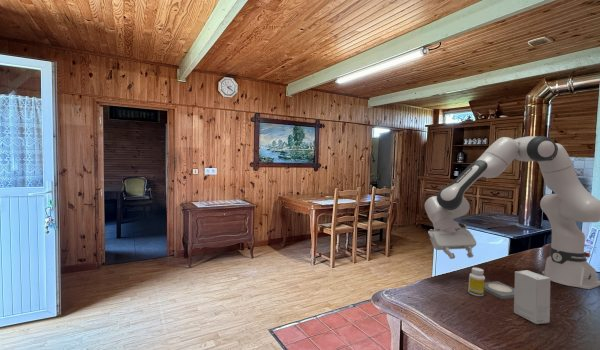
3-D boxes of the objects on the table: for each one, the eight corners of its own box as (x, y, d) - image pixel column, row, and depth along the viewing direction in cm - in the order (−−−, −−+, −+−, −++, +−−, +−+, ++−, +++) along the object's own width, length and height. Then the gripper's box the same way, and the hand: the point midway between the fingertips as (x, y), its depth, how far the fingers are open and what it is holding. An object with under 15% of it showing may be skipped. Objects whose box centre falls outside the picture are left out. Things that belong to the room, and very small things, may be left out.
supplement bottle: (486, 297, 116) (488, 272, 115) (470, 295, 117) (472, 270, 116) (480, 291, 121) (482, 267, 120) (466, 289, 122) (467, 266, 121)
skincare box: (549, 323, 98) (553, 278, 97) (535, 325, 97) (538, 279, 96) (525, 310, 106) (528, 269, 105) (511, 311, 105) (514, 269, 104)
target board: (497, 283, 129) (498, 280, 129) (525, 296, 118) (525, 292, 118) (475, 286, 126) (475, 282, 126) (501, 299, 115) (501, 295, 115)
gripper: (430, 225, 130) (445, 255, 121) (469, 224, 135) (486, 252, 126) (423, 233, 134) (437, 262, 125) (460, 232, 140) (476, 259, 131)
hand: (462, 257), depth 126 cm, fingers open, 8 cm apart
